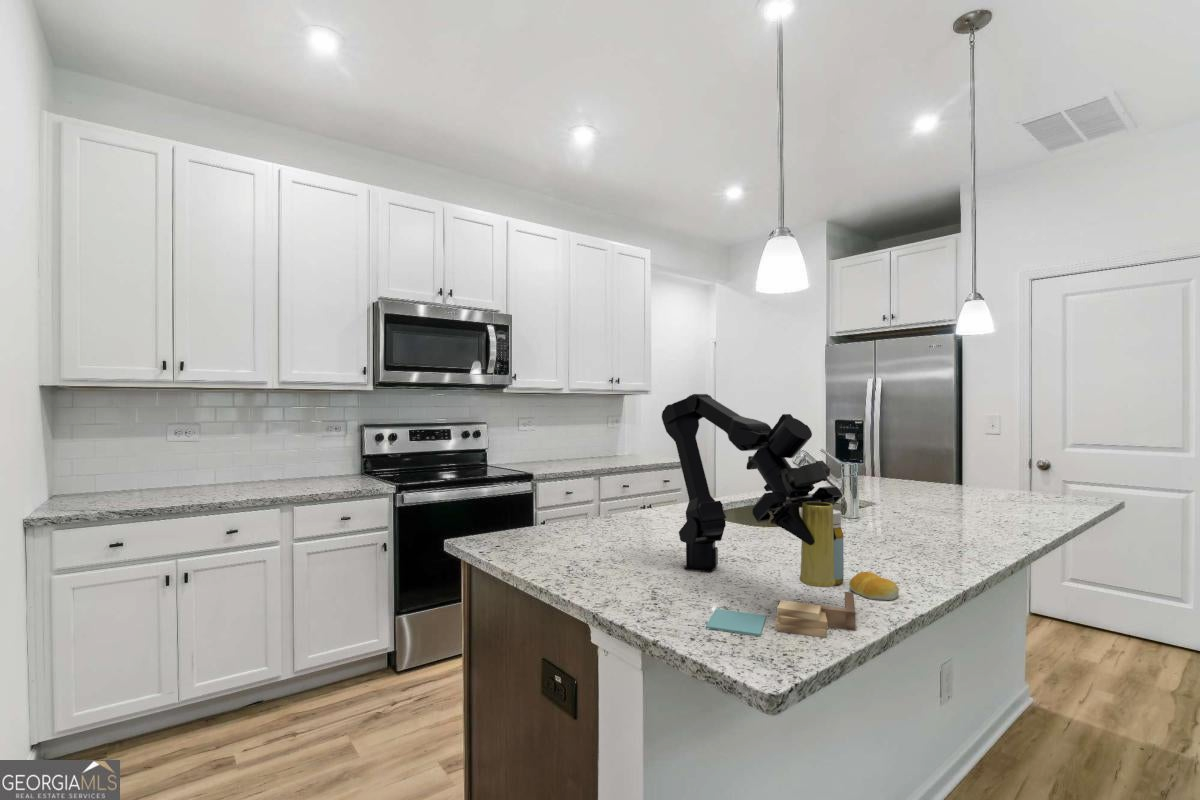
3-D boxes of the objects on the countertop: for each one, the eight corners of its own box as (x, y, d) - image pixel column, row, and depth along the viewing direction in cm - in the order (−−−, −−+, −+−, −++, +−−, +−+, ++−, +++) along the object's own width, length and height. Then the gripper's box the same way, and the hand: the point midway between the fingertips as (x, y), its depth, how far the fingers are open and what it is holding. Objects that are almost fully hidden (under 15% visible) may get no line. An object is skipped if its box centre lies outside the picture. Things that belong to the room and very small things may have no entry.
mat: (705, 628, 98) (705, 626, 98) (715, 610, 107) (715, 608, 107) (760, 636, 95) (760, 634, 95) (766, 617, 103) (766, 615, 103)
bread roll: (877, 604, 111) (877, 583, 111) (842, 590, 119) (842, 570, 119) (909, 599, 113) (909, 578, 113) (873, 585, 122) (873, 566, 122)
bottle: (846, 587, 120) (846, 514, 120) (811, 585, 121) (810, 513, 122) (839, 577, 127) (839, 508, 127) (806, 575, 128) (806, 507, 128)
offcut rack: (775, 630, 97) (774, 609, 97) (783, 600, 112) (782, 581, 112) (856, 642, 92) (856, 619, 92) (853, 608, 108) (853, 589, 108)
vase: (798, 585, 104) (798, 505, 104) (800, 575, 109) (800, 499, 109) (835, 589, 101) (835, 507, 101) (835, 579, 107) (835, 502, 107)
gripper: (763, 448, 104) (812, 521, 94) (834, 444, 113) (885, 511, 103) (733, 486, 111) (776, 558, 101) (802, 480, 120) (847, 545, 110)
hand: (823, 542), depth 104 cm, fingers closed on vase, 5 cm apart
